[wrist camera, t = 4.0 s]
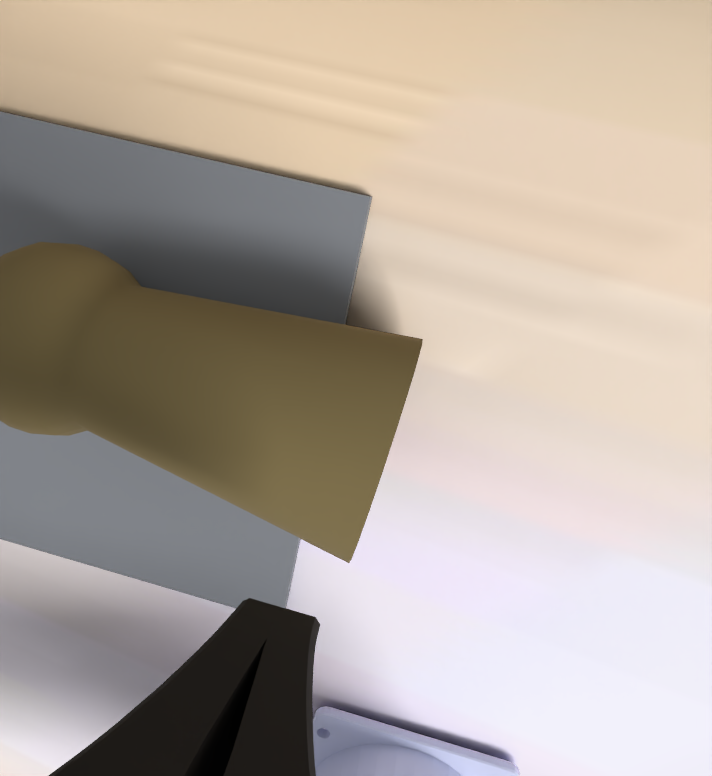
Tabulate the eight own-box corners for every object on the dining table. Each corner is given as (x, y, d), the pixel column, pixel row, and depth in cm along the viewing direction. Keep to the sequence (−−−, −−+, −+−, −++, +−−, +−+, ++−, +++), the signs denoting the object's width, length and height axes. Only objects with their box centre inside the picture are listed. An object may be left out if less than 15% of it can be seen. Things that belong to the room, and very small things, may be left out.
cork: (382, 447, 19) (82, 345, 20) (435, 297, 15) (58, 176, 16) (333, 607, 15) (-56, 469, 15) (391, 452, 11) (-135, 275, 11)
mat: (284, 613, 21) (281, 621, 21) (-151, 486, 23) (-161, 491, 22) (372, 196, 16) (370, 196, 16) (-204, 64, 17) (-218, 61, 17)
